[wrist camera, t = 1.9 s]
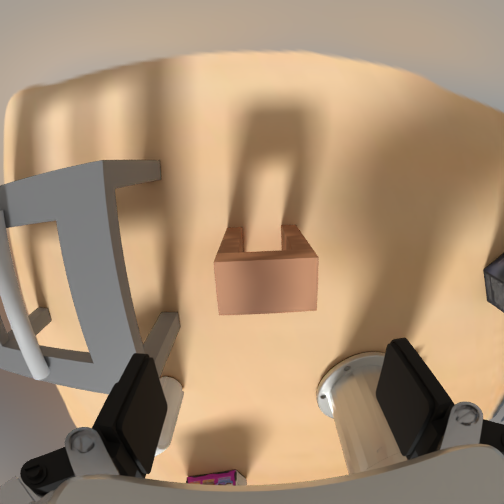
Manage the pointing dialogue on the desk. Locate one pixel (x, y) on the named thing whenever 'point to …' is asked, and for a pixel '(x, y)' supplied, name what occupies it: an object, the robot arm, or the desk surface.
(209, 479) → the candy bar box
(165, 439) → the photo printer
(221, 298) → the u-shaped wooden block
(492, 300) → the small box
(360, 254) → the desk surface
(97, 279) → the grey square frame
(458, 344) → the desk surface
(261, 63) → the desk surface
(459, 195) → the desk surface
